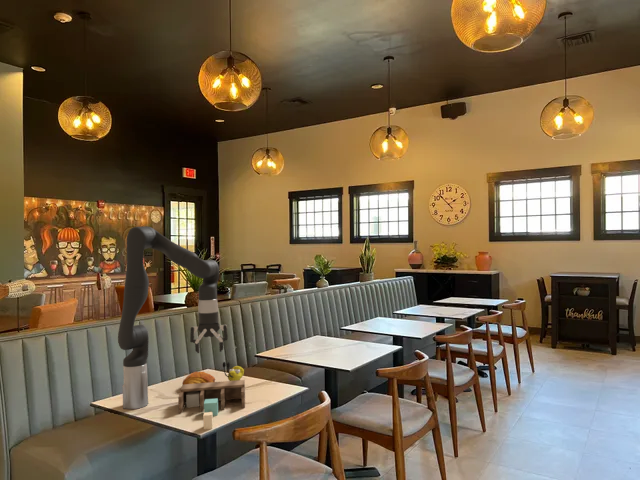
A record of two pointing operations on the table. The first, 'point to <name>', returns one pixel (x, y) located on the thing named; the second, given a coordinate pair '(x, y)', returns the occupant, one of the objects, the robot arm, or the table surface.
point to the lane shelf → (214, 392)
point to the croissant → (198, 378)
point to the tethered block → (210, 412)
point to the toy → (234, 372)
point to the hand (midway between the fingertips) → (209, 352)
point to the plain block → (193, 398)
